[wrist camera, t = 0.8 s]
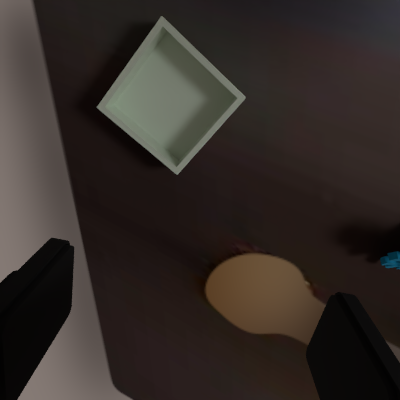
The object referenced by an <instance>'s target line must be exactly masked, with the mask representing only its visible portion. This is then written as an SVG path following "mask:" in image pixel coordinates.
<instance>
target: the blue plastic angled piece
mask: <svg viewBox="0 0 400 400" xmlns="http://www.w3.org/2000/svg"><path fill="white" fill-rule="evenodd" d="M387 254H388V256H384V257H381V258H380V261H381V265H385V267H386V268H393V267H396V268H397V269H400V252H391V253H387Z"/></svg>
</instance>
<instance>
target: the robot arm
mask: <svg viewBox="0 0 400 400" xmlns="http://www.w3.org/2000/svg"><path fill="white" fill-rule="evenodd" d="M73 264H74V247H73V246H70V243H69V241H66V240H61V239H56V238H51V239H49V240H48V241H47V242H46V243H45V244H44V245H43V246H42V247H41V248H40V249H39V250H38V251H37V252H36V253H35V254H34V255H33V256H32V257H31V258H30V259H29V260H28V261H27V262H26V263H25V264H24V265H23V266H22V267H21V268H20V269H19V270H18V271H13V272H12V273H11V274H9V275H8V276H7V277H6V278H5V279H4V280H3V281H2V282H1V283H0V400H17V399H18V397H19V396H20V394H21V393H22V391H23V389H24V388H25V386H26V384H27V383H28V381H29V379H30V378H31V376H32V375H33V373H34V371H35V370H36V368H37V366H38V365H39V363H40V361H41V360H42V358H43V356H44V355H45V353H46V352H47V350H48V348H49V347H50V345H51V343H52V342H53V340H54V339H55V337H56V335H57V334H58V332H59V330H60V329H61V327H62V325H63V324H64V322H65V321H66V319H67V317H68V315H69V313H70V310H71V306H72V305H71V304H72V286H73ZM306 358H307V362H308V365H309V368H310V371H311V374H312V377H313V380H314V383H315V386H316V389H317V392H318V395H319V398H320V400H400V363H399V361H398V360H397V358H396V356H395V355H394V353H393V352H392V350H391V349H390V347H389V346H388V344H387V343H386V341H385V340H384V338H383V337H382V335H381V334H380V332H379V331H378V329H377V328H376V326H375V325H374V323H373V321H372V320H371V318H370V317H369V315H368V314H367V312H366V311H365V309H364V308H363V306H362V305H361V303H360V302H359V300H358V299H357V297H356V296H355V295H351V294H346V293H341V292H337V293H336V294H335V295H331V296H330V298H329V300H328V302H327V304H326V307H325V309H324V311H323V314H322V316H321V318H320V320H319V323H318V325H317V327H316V329H315V332H314V334H313V336H312V338H311V341H310V343H309V345H308V347H307V351H306Z"/></svg>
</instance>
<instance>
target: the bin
mask: <svg viewBox="0 0 400 400" xmlns="http://www.w3.org/2000/svg"><path fill="white" fill-rule="evenodd" d="M245 98H246V97H245V96H244V95H243V94H242V93H241V92H240V91H239V90H238V89H237V88H236V87H235V86H234V85H233V84H232V83H231V82H230V81H229V80H227V79H226V78H225V77H224V76H223V75H222V74H221V73H220V72H219V71H218V70H217V69H216V68H215V67H214V66H213V65H212V64H211V63H210V62H209V61H208V60H207V59H206V58H205V57H204V56H203V55H202V54H201V53H200V52H199V51H198V50H197V49H196V48H194V47H193V46H192V45H191V44H190V43H189V42H188V41H187V40H186V39H185V38H184V37H183V36H182V35H181V34H180V33H179V32H178V31H177V30H176V29H175V28H174V27H173V26H172V25H171V24H170V23H169V22H168V21H167V20H166V19H165V18H164V17H162V16H161V17H160V19H159V20H158V22H157V23H156V24H155V26H154V27H153V29H152V30H151V31H150V33H149V34H148V36H147V37H146V39H145V40H144V41H143V43H142V44H141V46H140V47H139V48H138V50H137V51H136V53H135V54H134V55H133V57H132V58H131V60H130V61H129V62H128V64H127V65H126V67H125V68H124V69H123V71H122V72H121V74H120V75H119V77H118V78H117V79H116V81H115V82H114V84H113V85H112V86H111V88H110V89H109V91H108V92H107V93H106V95H105V96H104V98H103V99H102V100H101V102H100V103H99V105H98V106H97V107H96V108H98V109H99V110H100V111H101V112H102V113H104V114H105V115H106V116H107V117H108V118H110V119H111V120H112V121H113V122H114V123H116V124H117V125H118V126H119V127H120V128H122V129H123V130H124V131H125V132H126V133H128V134H129V135H130V136H131V137H132V138H133V139H135V140H136V141H137V142H138V143H139V144H141V145H142V146H143V147H144V148H145V149H147V150H148V151H149V152H150V153H151V154H153V155H154V156H155V157H156V158H157V159H159V160H160V161H161V162H162V163H163V164H165V165H166V166H167V167H168V168H169V169H171V170H172V171H173V172H174V173H175V174H177V175H178V174H179V172H180V171H181V170H182V169H183V168H184V167H185V166H186V165H187V163H188V162H189V161H190V160H191V159H192V158H193V157H194V156H195V154H196V153H197V152H198V151H199V150H200V149H201V148H202V147H203V145H204V144H205V143H206V142H207V141H208V140H209V139H210V138H211V137H212V135H213V134H214V133H215V132H216V131H217V130H218V129H219V128H220V126H221V125H222V124H223V123H224V122H225V121H226V120H227V119H228V117H229V116H230V115H231V114H232V113H233V112H234V111H235V110H236V108H237V107H238V106H239V105H240V104H241V103H242V102H243V101H244V99H245Z"/></svg>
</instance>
